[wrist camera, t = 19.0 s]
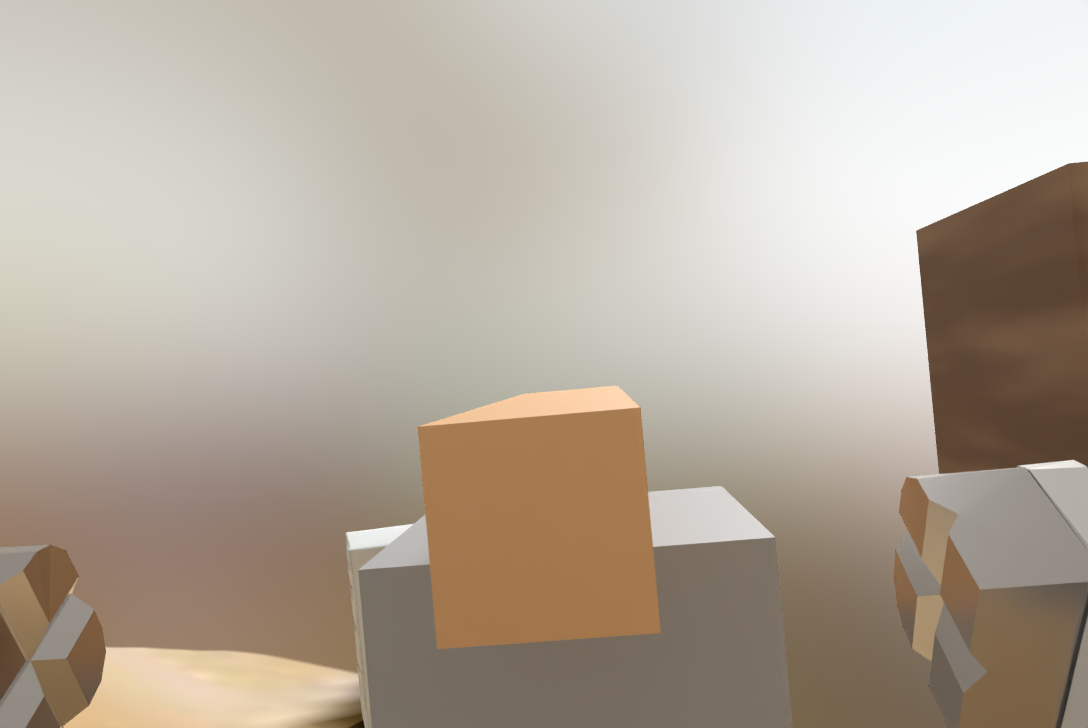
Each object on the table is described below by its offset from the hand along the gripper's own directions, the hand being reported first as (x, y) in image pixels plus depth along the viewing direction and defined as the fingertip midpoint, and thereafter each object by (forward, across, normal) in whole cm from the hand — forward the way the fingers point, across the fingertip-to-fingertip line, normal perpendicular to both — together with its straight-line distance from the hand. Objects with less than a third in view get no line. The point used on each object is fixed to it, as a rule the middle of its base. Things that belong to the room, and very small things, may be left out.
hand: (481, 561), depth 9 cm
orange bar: (+16, 0, -12) cm, 20 cm away
